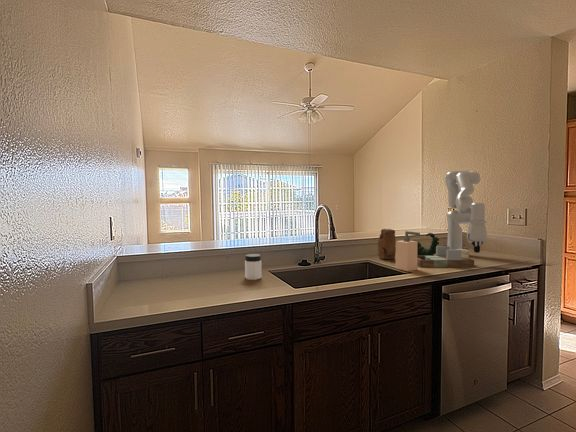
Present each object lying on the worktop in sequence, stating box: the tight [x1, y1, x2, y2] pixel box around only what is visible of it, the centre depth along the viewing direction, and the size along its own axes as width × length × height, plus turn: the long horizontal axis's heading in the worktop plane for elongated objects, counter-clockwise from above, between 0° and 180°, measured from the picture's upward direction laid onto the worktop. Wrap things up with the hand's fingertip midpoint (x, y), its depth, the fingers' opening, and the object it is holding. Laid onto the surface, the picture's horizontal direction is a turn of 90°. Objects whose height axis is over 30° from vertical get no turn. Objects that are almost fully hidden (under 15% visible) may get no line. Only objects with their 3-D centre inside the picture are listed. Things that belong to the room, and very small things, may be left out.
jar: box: [244, 253, 263, 281], centre depth 168 cm, size 9×8×12 cm
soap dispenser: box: [394, 230, 421, 272], centre depth 184 cm, size 13×9×22 cm
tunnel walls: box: [435, 245, 461, 260], centre depth 199 cm, size 15×8×6 cm, turn 0°
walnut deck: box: [417, 254, 475, 268], centre depth 199 cm, size 15×32×4 cm, turn 90°
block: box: [377, 228, 397, 260], centre depth 217 cm, size 11×8×20 cm
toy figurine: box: [416, 232, 440, 256], centre depth 221 cm, size 9×19×25 cm
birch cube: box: [457, 248, 470, 258], centre depth 199 cm, size 5×5×5 cm
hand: (476, 252), depth 199 cm, fingers closed
